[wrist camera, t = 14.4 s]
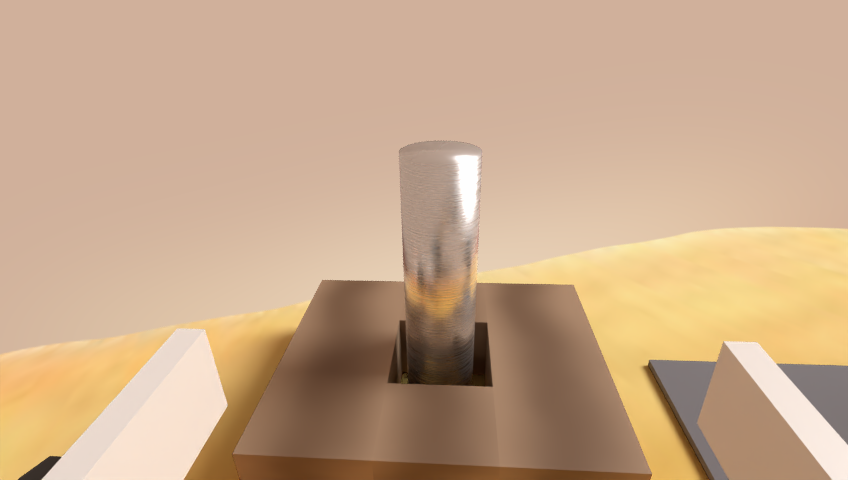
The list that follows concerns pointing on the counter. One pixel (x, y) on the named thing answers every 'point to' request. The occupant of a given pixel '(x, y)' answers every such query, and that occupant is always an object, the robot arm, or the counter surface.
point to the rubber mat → (689, 381)
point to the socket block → (441, 396)
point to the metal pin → (440, 258)
